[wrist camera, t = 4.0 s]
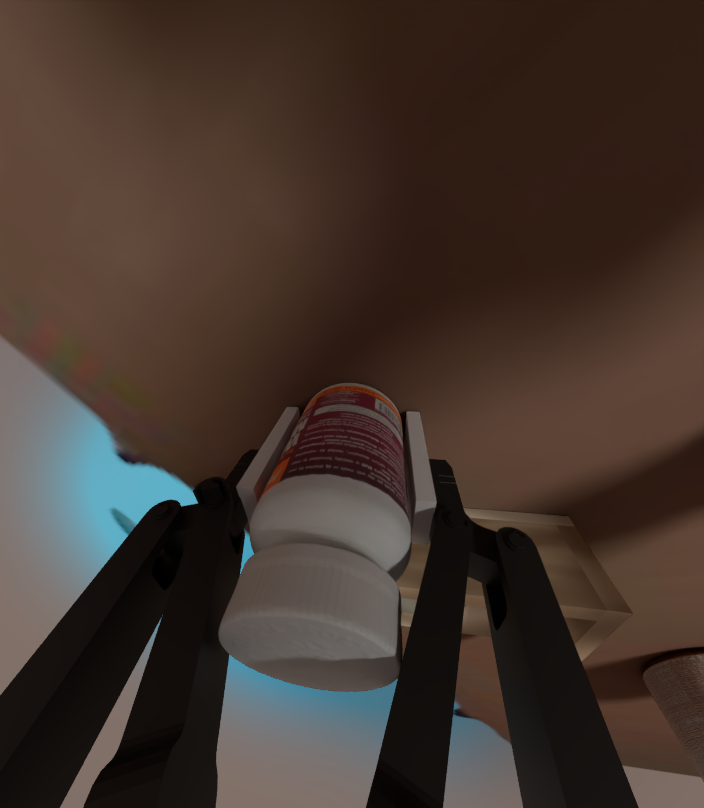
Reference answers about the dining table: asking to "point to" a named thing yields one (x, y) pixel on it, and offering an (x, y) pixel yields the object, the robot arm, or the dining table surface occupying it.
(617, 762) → the robot arm
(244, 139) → the dining table surface
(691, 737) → the planter
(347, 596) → the pill bottle
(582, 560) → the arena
